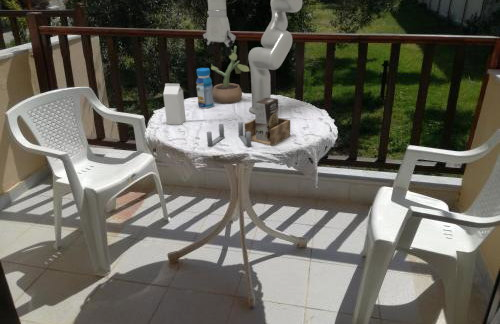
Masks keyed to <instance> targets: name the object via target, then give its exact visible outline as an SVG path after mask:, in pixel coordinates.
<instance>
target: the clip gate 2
mask: <svg viewBox="0 0 500 324" xmlns="http://www.w3.org/2000/svg"><path fill="white" fill-rule="evenodd" d="M243 123H244V122H240V121H239V122H238V123H237V126H238V136H237V137H238V138H239V139H240V140H241V142H242V143H243V144H244V146H245V147H248V148H249V147H252V141H251V132H250V131H248V132H246V138H245V134H244V124H243Z"/></svg>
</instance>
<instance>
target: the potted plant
mask: <svg viewBox="0 0 500 324" xmlns="http://www.w3.org/2000/svg"><path fill="white" fill-rule="evenodd" d="M237 48H238V47H237V46H236V45H234V46H233V49H232V55H230V56H228V59H230V63H229V64H228V66H227V69H226V70H225V72H223V71H221V70H220V69H219V68H218V67H216V66H214V65H213V63H210V69H211V70H212V71H214V72H216V73H217V74H219V75H221V76H222V77H223V81H222V83H219V84H216V85H214V86H213V88H212V90H213V102H216V103H218V104H234V103H237V102H239V101H240V100H241V99H242V97H243V91H242V88H241V87H240V85H239V84H236V83H231V82H230V76H231V74H232V73H231V72H232V71H233V70H234V71H235V74H237V75H238V74H241V73H242V72H251V69H250V66H247V65H246V64H242V63H241V64H240V60H237V59H238V55H237Z"/></svg>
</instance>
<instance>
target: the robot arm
mask: <svg viewBox="0 0 500 324" xmlns="http://www.w3.org/2000/svg"><path fill="white" fill-rule="evenodd" d="M226 1H227V0H207V7H208V10H207V15H208V17H207V19H206V20H207V21H206V32H205V33H203V34H202V37H203V39H204V42H205V43H206V45H207V47H208V55H214V54H215V44H214V43H224V44H225V45H226V46H225V56H226V57H229V56H230V55H232V53H233V52H232V50H233V49H232V46H233V45H234V43H235V40H236V37H237V36H236V35H235V34H233V33H232V32H231V28H230V22H229V19H228V16H227V2H226ZM270 7H271V21H269V24H268V26H267V27H266V29H265V31H264V33H263V34H262V36H261V38H260V39H261V40H260V44H261V45H262V46H261V47H259V46H257V47H253V48H251V50H249V53H248V56H247V57H248V59H247V60H248V64H249V70H250V79H251V80H250V82H251V85H250V86H251V106H249V109H248V110H249V112H250V113H252V114H255V102H257V101H260V100H262V99H264V98H272V97H271V93H272V92H271V73H270V71H269V70H272V71H275V70H277V69H279V68H280V67H281V66H282V64H283V62H284V61H285V59H286V57H287V55H288V53H289V52H290V49H291V48H292V45H293V35H292V34H291V32H289V31H288V30H287V28H288V24H289V23H288V18H287V14H286V13H298V12H299V11H300V10H301V9H302V7H303V0H270Z"/></svg>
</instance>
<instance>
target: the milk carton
mask: <svg viewBox="0 0 500 324" xmlns="http://www.w3.org/2000/svg"><path fill="white" fill-rule="evenodd" d="M180 85H181V84H180V83H165V84H164V90H163V94H162V95H163V96H162V97H163V102H164V103H163V104H164V111H165V112H164V113H165V120H166V125H178V126H179V125H182V124H183V123H184V122H185V121H186V120H187V118H186V110H185V109H186V108H185V99H184V98H185V97H184V90H183V89H182V87H181V86H180Z"/></svg>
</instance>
